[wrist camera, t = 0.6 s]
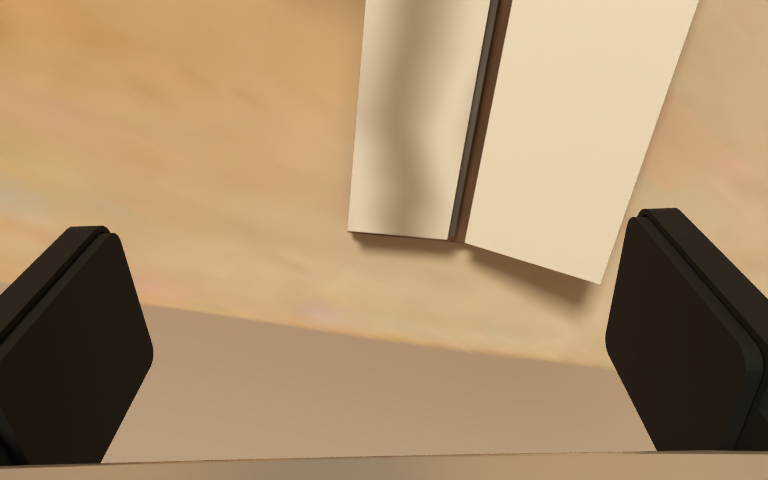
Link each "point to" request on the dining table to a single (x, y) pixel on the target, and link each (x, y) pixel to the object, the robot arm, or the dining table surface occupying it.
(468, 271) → the dining table surface
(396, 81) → the white grooved board
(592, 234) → the pale plank
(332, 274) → the dining table surface
